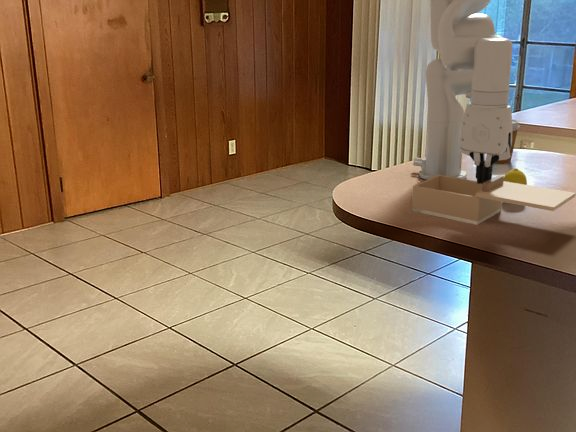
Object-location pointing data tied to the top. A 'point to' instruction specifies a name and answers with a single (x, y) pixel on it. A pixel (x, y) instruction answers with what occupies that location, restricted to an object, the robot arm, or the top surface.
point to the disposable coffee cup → (514, 132)
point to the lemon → (515, 177)
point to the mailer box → (453, 200)
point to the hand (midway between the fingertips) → (483, 182)
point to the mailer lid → (523, 194)
